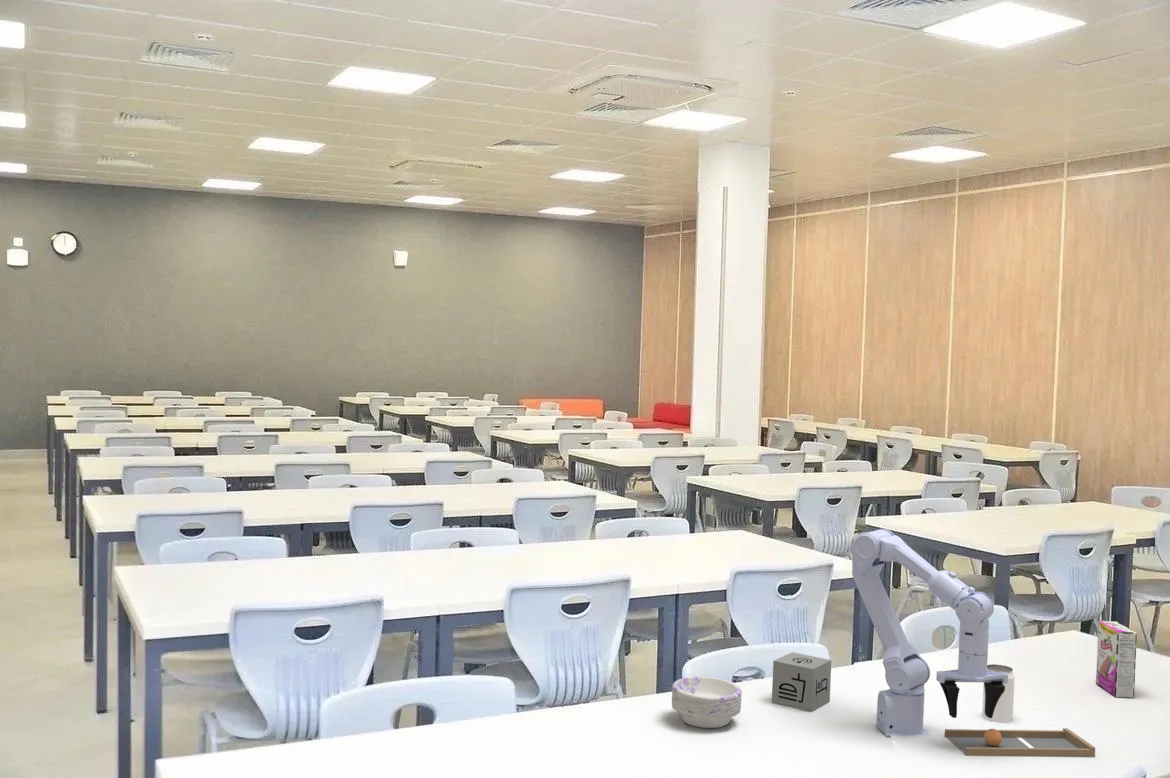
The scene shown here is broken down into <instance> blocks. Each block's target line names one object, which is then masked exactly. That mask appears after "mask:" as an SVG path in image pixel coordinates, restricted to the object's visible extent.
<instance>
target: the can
mask: <svg viewBox="0 0 1170 778" xmlns="http://www.w3.org/2000/svg"><path fill="white" fill-rule="evenodd" d="M987 671H996V672H1005V673H1007V674H1008V684H1004V683H1003V685H1004V686H1005V691H1004V692H1003V694H1002V695H1001V697H1000V698H999V700H998V702H997V704H996V707H995V710H994V713H993V717H992V718H988V717H987V716H986V715H985V687H984V685H983V692H982V709H981V710H982V718H984V719H985V720H987V721H990V722H995V723H1001V724H1002V723H1003V724H1004V723H1006V724H1007V723H1011V722H1013V720H1014V697H1015V675H1014V672H1013V671H1014V668H1012V667H1010V666H1007V665H1003V664H998V663H997V664H987Z"/></svg>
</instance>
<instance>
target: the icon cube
mask: <svg viewBox="0 0 1170 778" xmlns="http://www.w3.org/2000/svg"><path fill="white" fill-rule="evenodd" d="M772 662H773V664H772V686H771V688H772V689H771V703H772V704H774V705H778V706H782V707H787V708H791V709H795V710H799V711H802V712H807V713H813V712H815V711H817V710H818V709H821V708H822V707H824V706H825V705H827V704H829V703H830V702H831V679H832V678H831V677H832V660H831V659H828V658H822V657H818V656H812V655H809V654H802V653H798V652H793V651H792V652H790V653H787V654H786V655H783V656H781V657H778V658H776V659H774V660H773V661H772Z"/></svg>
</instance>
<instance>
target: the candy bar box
mask: <svg viewBox="0 0 1170 778" xmlns="http://www.w3.org/2000/svg"><path fill="white" fill-rule="evenodd" d="M1097 623H1098V626H1097V647H1096V648H1097V650H1096V651H1097V653H1096V673H1095V674H1096V677H1095V685H1097V686H1099V687H1100V688H1102V689H1103V690H1104V691H1106V692H1107V693H1109V694H1110V695H1111V696H1113V697H1114V698H1116V699H1117V698H1118V699H1134V698H1135V687H1136V685H1135V683H1136V682H1135V680H1136V660H1137V638H1138V637H1137V636H1138V633H1137V632H1136V631H1134V630H1132V629H1131V628H1128V627H1126V626H1125V625H1123V624H1122V623H1120V622H1118V621H1111V620H1110V621H1109V620H1099V621H1098V622H1097Z"/></svg>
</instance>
